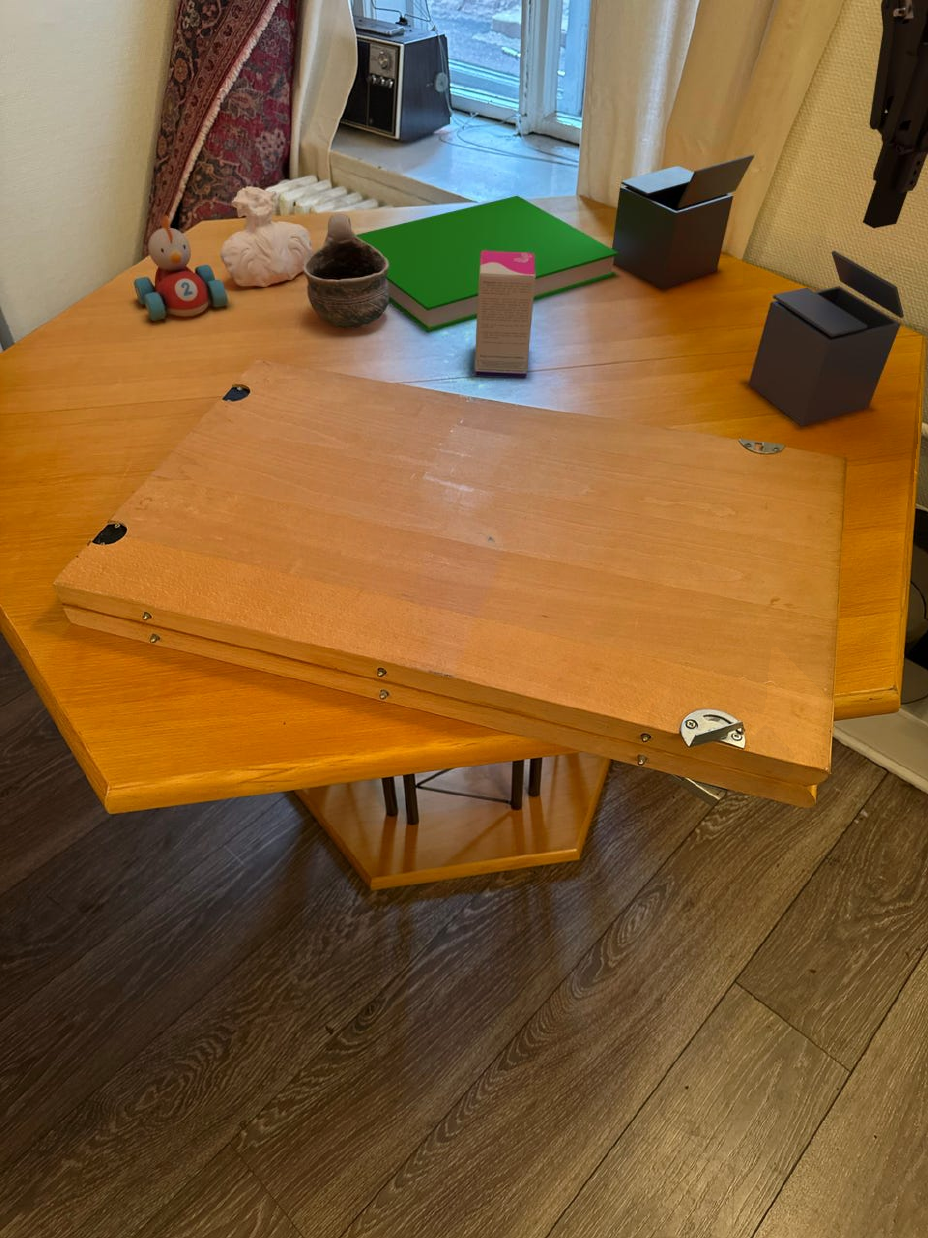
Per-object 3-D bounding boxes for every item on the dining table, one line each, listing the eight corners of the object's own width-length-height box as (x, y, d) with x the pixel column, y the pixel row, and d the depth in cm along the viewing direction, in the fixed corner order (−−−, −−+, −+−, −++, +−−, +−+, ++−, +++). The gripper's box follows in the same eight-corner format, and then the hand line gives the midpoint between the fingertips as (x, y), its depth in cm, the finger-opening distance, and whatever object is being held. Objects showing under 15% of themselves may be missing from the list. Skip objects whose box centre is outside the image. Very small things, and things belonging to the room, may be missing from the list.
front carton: (812, 367, 99) (841, 279, 91) (868, 407, 93) (903, 316, 86) (748, 384, 96) (772, 294, 89) (801, 426, 90) (832, 334, 83)
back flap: (734, 189, 108) (735, 190, 108) (677, 206, 104) (678, 208, 104) (753, 153, 104) (754, 155, 104) (694, 170, 100) (696, 172, 100)
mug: (318, 345, 101) (308, 257, 94) (296, 296, 109) (285, 212, 102) (400, 332, 103) (397, 246, 96) (372, 286, 111) (367, 203, 104)
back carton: (717, 270, 116) (735, 189, 108) (662, 289, 112) (677, 206, 104) (663, 244, 121) (677, 165, 114) (610, 261, 117) (620, 180, 110)
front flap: (840, 281, 92) (842, 279, 91) (901, 318, 86) (904, 316, 86) (831, 252, 88) (833, 249, 88) (894, 288, 83) (897, 286, 83)
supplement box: (528, 378, 96) (535, 275, 88) (473, 376, 96) (476, 273, 88) (528, 351, 100) (535, 250, 92) (475, 350, 100) (477, 248, 92)
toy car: (155, 328, 103) (133, 242, 96) (136, 297, 108) (114, 213, 101) (232, 311, 106) (216, 226, 99) (209, 281, 111) (193, 199, 104)
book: (615, 275, 114) (618, 252, 112) (427, 332, 103) (427, 307, 101) (513, 215, 127) (515, 194, 125) (338, 260, 116) (335, 237, 114)
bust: (312, 279, 117) (278, 192, 115) (331, 261, 110) (296, 168, 108) (227, 303, 112) (190, 212, 110) (242, 285, 105) (203, 188, 103)
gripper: (888, -113, 69) (801, 203, 86) (1025, -86, 60) (899, 257, 77) (960, -117, 71) (861, 192, 88) (1102, -92, 63) (963, 243, 80)
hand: (879, 222), depth 83 cm, fingers closed
